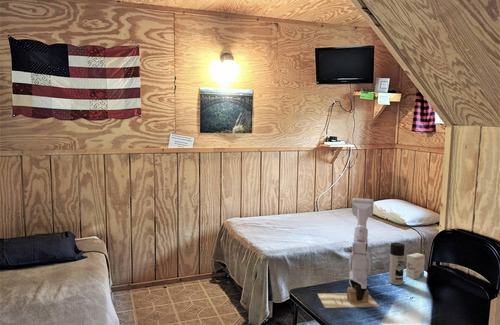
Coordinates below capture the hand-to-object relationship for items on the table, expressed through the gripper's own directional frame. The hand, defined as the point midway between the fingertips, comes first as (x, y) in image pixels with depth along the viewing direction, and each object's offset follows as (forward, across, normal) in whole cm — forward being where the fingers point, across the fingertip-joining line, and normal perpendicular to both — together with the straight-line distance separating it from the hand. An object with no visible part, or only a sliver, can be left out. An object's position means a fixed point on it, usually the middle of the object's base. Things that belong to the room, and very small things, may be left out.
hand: (357, 297), depth 177 cm
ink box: (+3, -31, +42) cm, 52 cm away
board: (+3, -1, -4) cm, 5 cm away
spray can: (+3, -23, +28) cm, 36 cm away
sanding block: (+1, 0, 0) cm, 1 cm away
